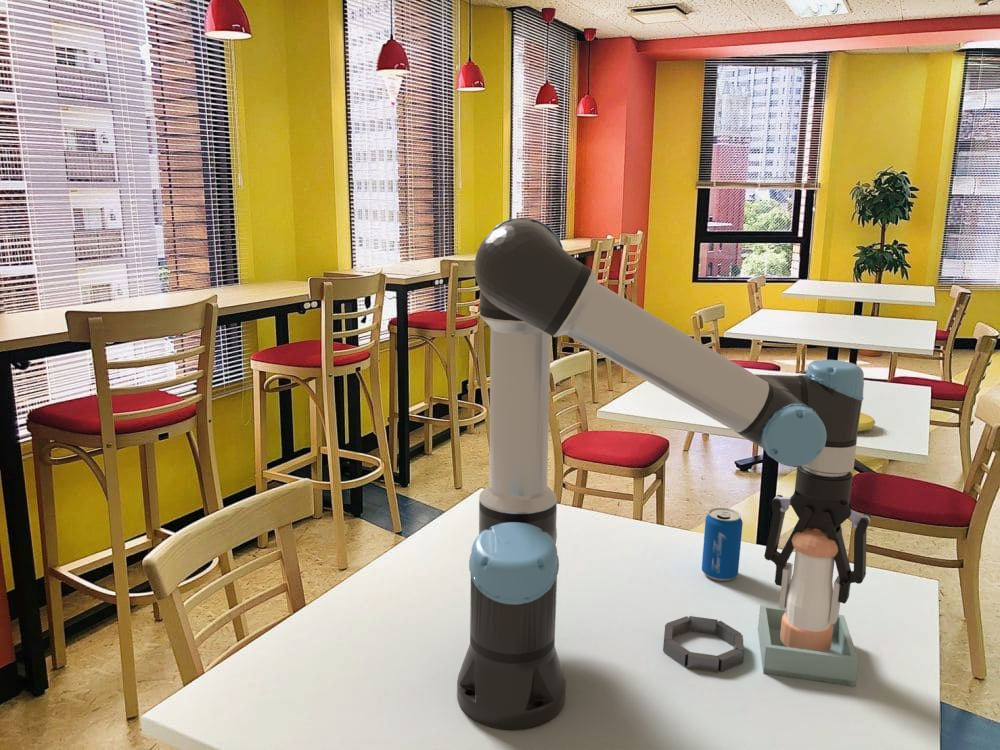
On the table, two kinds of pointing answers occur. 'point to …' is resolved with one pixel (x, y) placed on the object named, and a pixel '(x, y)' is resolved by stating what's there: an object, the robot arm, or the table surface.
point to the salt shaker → (810, 593)
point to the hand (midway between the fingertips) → (808, 612)
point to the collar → (698, 659)
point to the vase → (865, 422)
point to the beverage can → (722, 544)
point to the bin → (806, 652)
